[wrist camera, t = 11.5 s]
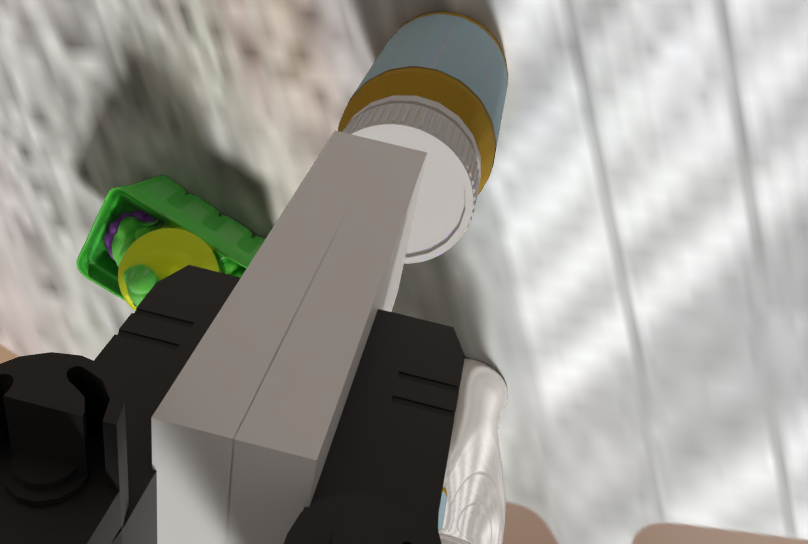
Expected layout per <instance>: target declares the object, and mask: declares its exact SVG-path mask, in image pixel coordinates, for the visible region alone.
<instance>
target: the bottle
mask: <svg viewBox="0 0 808 544" xmlns="http://www.w3.org/2000/svg"><path fill="white" fill-rule="evenodd" d="M507 85H508V71H507V64H506V59H505V56H504V53H503V51H502V49H501V47H500V45H499V43H498V41H497V40H496V39H495V37H494V36H493V35H492V34H491V33H490V32H489V31H488V30H487V29H486V28H485V27H484V26H483V25H481V24H480V23H479V22H477V21H475V20H473V19H471V18H469V17H467V16H465V15H461V14H457V13H450V12H434V13H428V14H423V15H420V16H418V17H416V18H414V19H412V20H411V21H409V22H407V23H405V24H404V25H403V26H401V27H400V29H399V30H398V31H397V32H396V33H395V34H394V35H393V36H392V37H391V39H390V40H389V41H388V43H387V44H386V46H385V47H384V49H383V50H382V52H381V53H380V55H379V56H378V58H377V59H376V61H375V62H374V64H373V65H372V67H371V69H370V70H369V72H368V73H367V75H366V76H365V78H364V79H363V81H362V82H361V84H360V85H359V87H358V88H357V90H356V91H355V93H354V95H353V96H352V98H351V99H350V101H349V103H348V105H347V107H346V109H345V111H344V113H343V116H342V118H341V121H340V123H339V128H338V131H339V132H343V133H347V134H352V135H356V136H360V137H364V138H369V139H373V140H377V141H381V142H385V143H390V144H394V145H398V146H402V147H407V148H411V149H415V150H419V151H423V152H427V156H426V161H425V166H424V170H423V175H422V180H421V185H420V189H419V194H418V199H417V204H416V208H415V213H414V218H413V223H412V227H411V232H410V237H409V242H408V246H407V251H406V256H405V261H404V264H410V263H418V262H423V261H426V260H430V259H432V258H435V257H437V256H439V255H441V254H443V253H444V252H446V251H447V250H449V249H450V248H451V247H452V246H453V245H454V244H455V243H456V242H457V241H458V240H459V239H460V238H461V236H463V234H464V232H465V230H467V228H468V225H469V223H470V222H471V220H472V216H473V214H474V209H475V204H476V200H477V195H478V194H479V193H480V192H481V190H482V189H483V187H484V185H485V183H486V182H487V180H488V178H489V176H490V174H491V171H492V167H493V163H494V157H495V152H496V146H497V141H498V135H499V130H500V124H501V119H502V113H503V107H504V102H505V96H506V91H507Z"/></svg>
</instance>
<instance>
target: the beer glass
mask: <svg viewBox="0 0 808 544" xmlns="http://www.w3.org/2000/svg"><path fill="white" fill-rule="evenodd" d="M507 400H508V391H507V387H506V384H505V382H504V380H503V378H502V377H501V376H500V374H499V373H498V372H497V371H495V370H494V369H493V368H491V367H490V366H488V365H486V364H484V363H482V362H480V361H477V360H473V359H467V358H465V359H464V365H463V371H462V377H461V383H460V388H459V395H458V401H457V406H456V412H455V416H454V424H453V430H452V436H451V442H450V448H449V454H448V460H447V466H446V472H445V478H444V484H443V490H442V496H441V502H440V507H439V516H438V532H439V535H440V539H441V543H442V544H502V540H503V532H504V524H505V504H506V498H505V484H504V475H503V468H502V461H501V454H500V447H499V439H498V431H499V425H500V422H501V419H502V416H503V414H504V411H505V408H506V405H507Z"/></svg>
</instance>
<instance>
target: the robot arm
mask: <svg viewBox="0 0 808 544" xmlns="http://www.w3.org/2000/svg"><path fill="white" fill-rule="evenodd" d="M426 156H427V152H423V151H419V150H415V149H411V148H407V147H402V146H398V145H394V144H390V143H385V142H381V141H377V140H373V139H369V138H364V137H360V136H356V135H352V134H347V133H343V132H339V131H334V133H333V134H332V136H331V138H330V139H329V141H328V142H327V144H326V145H325V147H324V148H323V150H322V152H321V153H320V155H319V156H318V158H317V159H316V161H315V163H314V164H313V166H312V167H311V169H310V170H309V172H308V174H307V175H306V177H305V178H304V180H303V181H302V183H301V184H300V186H299V188H298V189H297V191H296V192H295V194H294V195H293V197H292V199H291V200H290V202H289V203H288V205H287V206H286V208H285V209H284V211H283V213H282V214H281V216H280V217H279V219H278V220H277V222H276V224H275V225H274V227H273V228H272V230H271V231H270V233H269V234H268V236H267V238H266V239H265V241H264V242H263V244H262V245H261V247H260V249H259V250H258V252H257V253H256V255H255V256H254V258H253V260H252V261H251V263H250V264H249V266H248V267H247V269H246V270H245V272H244V274H243V275H242V277H237V276H232V275H228V274H224V273H220V272H216V271H212V270H208V269H204V268H200V267H196V266H192V265H188V266H186V267H184V268H182V269H180V270H178V271H177V272H175V273H173V274H171V275H169V276H168V277H166V278H164V279H162V280H160V281H158V282H157V283H156V284H155V285H154V286H153V287H152V289H151V290H150V291H149V292H148V294H147V295H146V296H145V297H144V299H143V300H142V301H141V302H140V304H139V305H138V306H137V307H136V311H135V313H132V314H131V315H130V316H129V317H128V319H127V320H126V321H125V322H124V324H123V325H122V326H121V327H120V329H119V333H118V335H114V336H113V337H112V339H111V340H110V341H109V342H108V344H107V345H106V346H105V347H104V349H103V350H102V351H101V352H100V354H99V355H98V356H97V357H96V359H95V360H94V361H93V360H90V359H88V358H86V357H83V356H80V355H71V354H62V353H53V352H51V353H43V354H35V355H28V356H20V357H17V358H15V359H12V360H9V361H7V362H4V363H2V364H0V544H442V543H441V539H440V535H439V532H438V516H439V507H440V502H441V496H442V490H443V484H444V478H445V472H446V466H447V460H448V454H449V448H450V442H451V436H452V430H453V424H454V416H455V412H456V406H457V401H458V395H459V388H460V383H461V377H462V371H463V365H464V359H465V356H464V353H463V351H462V348H461V346H460V343H459V341H458V338H457V336H456V333H455V331H454V328H453V327H449V326H445V325H441V324H437V323H433V322H429V321H425V320H421V319H417V318H413V317H409V316H405V315H401V314H397V313H393V312H392V309H393V306H394V302H395V299H396V296H397V293H398V289H399V284H400V280H401V275H402V270H403V265H404V261H405V256H406V251H407V246H408V242H409V237H410V232H411V227H412V223H413V218H414V213H415V208H416V204H417V199H418V194H419V189H420V185H421V180H422V175H423V170H424V166H425V161H426Z"/></svg>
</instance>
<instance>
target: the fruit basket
mask: <svg viewBox="0 0 808 544" xmlns="http://www.w3.org/2000/svg"><path fill="white" fill-rule="evenodd" d="M264 241H265V239H264V238H262V237H259V236H254V235H253V233H252V232H251V231H250V230H249V229H248V228H246V227H245V226H243V225H242V224H240V223H238V222H237V221H235V220H234V219H232V218H231V217H229V216H225V215H220V212H219V211H218V210H217V209H216V208H215V207H213V206H212V205H210V204H209V203H207V202H205V201H204V200H202V199H201V198H199V197H198V196H196V195H192V194H190V193H186V191H185V190H184V189H183V188H182V187H181V186H180V185H179V184H177V183H176V182H174V181H172V180H171V179H169V178H168V177H166V176H164V175H160V176H157V177H154V178H151V179H148V180H145V181H142V182H139V183H136V184H133V185H130V186H129V185H124V186H119V187H115V188H112V189H111V190H110V191H109V192H108V194H107V196H106V198H105V201H104V204H103V205H102V207H101V209H100V211H99V213H98V216H97V218H96V220H95V222H94V224H93V226H92V229H91V231H90V233H89V235H88V237H87V240H86V242H85V244H84V246H83V248H82V250H81V252H80V254H79V256H78V259H77V267H78V270H79V271H80V273H81V274H82V275H83V276H85V277H86V278H87V279H89V280H91V281H92V282H94V283H96V284H98V285H99V286H101V287H103V288H104V289H106V290H108V291H109V292H111V293H113V294H114V295H116V296H118V297H120V298H122V299H123V300H125V301H126V302H127V303H128V304H129V306H130V307H131V308H132V309H134V310H135V311H136V307H137V306H138V305H139V304H140V302H141V301H142V300H143V299H144V297H145V296H146V295H147V294H148V292H149V291H150V290H151V289H152V287H153V286H154V285H155V284H156V283H157V282H158V281H160V280H162V279H164V278H166V277H168V276H169V275H171V274H173V273H175V272H177V271H178V270H180V269H182V268H184V267H186V266H188V265H192V266H196V267H200V268H204V269H208V270H212V271H216V272H220V273H224V274H228V275H232V276H237V277H242V275H243V274H244V272H245V270H246V269H247V267H248V266H249V264H250V263H251V261H252V260H253V258H254V256H255V255H256V253H257V252H258V250H259V249H260V247H261V245H262V244H263V242H264Z"/></svg>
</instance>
